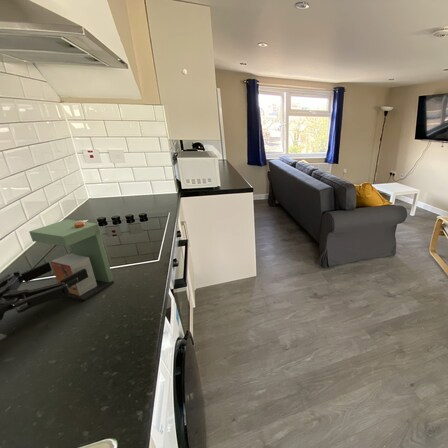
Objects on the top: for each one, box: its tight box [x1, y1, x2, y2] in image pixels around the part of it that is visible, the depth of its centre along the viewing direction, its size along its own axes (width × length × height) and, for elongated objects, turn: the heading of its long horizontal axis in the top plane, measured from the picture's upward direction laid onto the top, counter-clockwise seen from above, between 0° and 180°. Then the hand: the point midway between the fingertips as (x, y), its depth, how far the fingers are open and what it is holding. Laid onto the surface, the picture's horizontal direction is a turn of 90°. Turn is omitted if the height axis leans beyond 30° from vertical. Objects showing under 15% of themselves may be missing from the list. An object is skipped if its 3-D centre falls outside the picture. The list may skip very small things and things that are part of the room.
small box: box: [49, 252, 97, 296], centre depth 79 cm, size 8×6×10 cm
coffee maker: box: [28, 219, 115, 302], centre depth 79 cm, size 12×10×22 cm
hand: (67, 269), depth 77 cm, fingers open, 13 cm apart
